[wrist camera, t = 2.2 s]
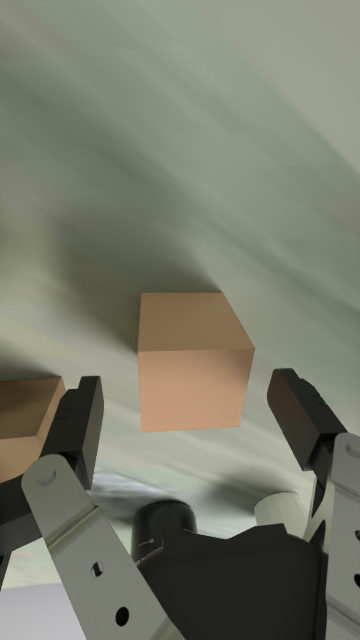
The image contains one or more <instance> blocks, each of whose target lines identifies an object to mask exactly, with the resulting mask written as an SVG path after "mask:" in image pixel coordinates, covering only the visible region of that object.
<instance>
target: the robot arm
mask: <svg viewBox="0 0 360 640" xmlns="http://www.w3.org/2000/svg"><path fill="white" fill-rule="evenodd" d="M267 400H268V404H269V407H270V408H271V410H272V412H273V414H274V416H275V418H276V420H277V422H278V424H279V426H280V428H281V430H282V432H283V434H284V436H285V438H286V440H287V442H288V444H289V446H290V448H291V450H292V452H293V454H294V455H295V457H296V459H297V461H298V463H299V465H300V467H301V469H302V471H314V473H315V475H316V477H315V480H314V485H313V491H312V497H311V503H310V510H309V516H308V522H307V526H306V529H305V532H304V535H303V538H300V537H298V536H295V535H292V534H289V533H287V531H286V528H285V525H284V523H279V524H270V525H261V526H254V527H252V528H250V529H248V530H246V531H244V532H242V533H240V534H238V535H236V536H234V537H232V538H229V539H221V538H216V537H211V536H206V535H200V534H195V533H190V534H182V535H173V536H164V537H163V546H162V547H160V548H158V549H156V550H154V551H153V552H151V553H150V554H148V555H147V556H146V557H145V558H144V559H142V560H141V561H140V562H139V564H138V565H137V566H136V565H135V563H134V562H133V560H132V558H131V557H130V555H129V554H128V552H127V550H126V549H125V547H124V546H123V544H122V542H121V541H120V539H119V538H118V536H117V534H116V533H115V531H114V530H113V528H112V526H111V525H110V523H109V522H108V520H107V518H106V517H105V515H104V514H103V512H102V511H101V509H100V508H99V507H98V506H95V505H94V504H93V503H92V501H91V499H90V498H89V496H88V495H87V493H86V491H85V490H91V486H92V480H93V474H94V468H95V462H96V456H97V450H98V444H99V437H100V431H101V425H102V419H103V413H104V400H103V392H102V385H101V378H100V376H82V377H81V380H80V383H79V387H78V389H69V390H68V391H67V392H66V393H65V394H64V395H63V396H62V397H61V399H60V401H59V404H58V407H57V411H56V412H55V415H54V418H53V421H52V423H51V426H50V429H49V432H48V435H47V437H46V440H45V443H44V446H43V448H42V451H41V454H40V456H39V458H38V459H37V460H36V461H34V462H33V463H32V464H31V465H30V466H29V467H28V468H27V470H26V471H25V472H24V473H23V474H21V475H19V476H18V477H15V478H13V479H10V480H7V481H5V482H2V483H0V590H1V587H2V583H3V580H4V577H5V573H6V570H7V566H8V563H9V559H10V556H11V553H12V551H14V550H16V549H18V548H20V547H22V546H24V545H26V544H29V543H31V542H33V541H35V540H37V539H39V538H41V537H43V538H44V541H45V543H46V545H47V548H48V550H49V553H50V555H51V558H52V560H53V562H54V565H55V567H56V569H57V572H58V574H59V576H60V579H61V581H62V583H63V585H64V587H65V590H66V592H67V595H68V597H69V599H70V601H71V604H72V606H73V609H74V611H75V613H76V616H77V618H78V620H79V623H80V625H81V627H82V630H83V632H84V634H85V637H86V639H87V640H360V437H359V436H357V435H354V434H351V433H348V431H347V430H346V429H345V427H344V426H343V425H342V423H341V422H340V421H339V419H338V418H337V417H336V415H335V414H334V413H333V411H332V410H331V409H330V407H329V406H328V405H326V402H325V401H324V400H323V398H322V397H320V394H319V393H318V392H317V390H316V389H315V388H314V386H312V385H311V384H310V383H309V382H307V381H306V380H305V379H300V378H299V377H298V375H297V374H296V373H295V371H294V370H293V369H292V368H282V369H274V371H273V374H272V377H271V381H270V384H269V388H268V392H267Z"/></svg>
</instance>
